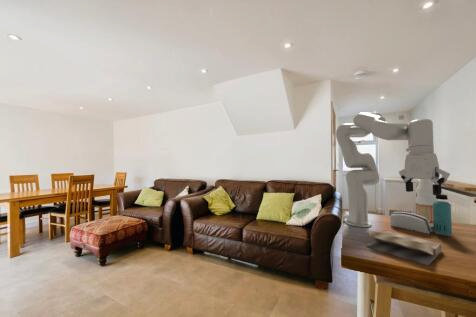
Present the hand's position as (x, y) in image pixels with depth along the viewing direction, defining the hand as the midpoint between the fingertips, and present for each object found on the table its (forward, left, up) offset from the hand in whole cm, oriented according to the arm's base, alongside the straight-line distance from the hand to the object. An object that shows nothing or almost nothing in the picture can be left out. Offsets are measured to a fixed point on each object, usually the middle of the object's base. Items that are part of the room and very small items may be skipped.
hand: (422, 193), depth 82 cm
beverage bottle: (0, +29, -24) cm, 38 cm away
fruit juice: (-9, +44, -24) cm, 51 cm away
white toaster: (-13, +29, -24) cm, 40 cm away
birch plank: (-6, -7, -21) cm, 23 cm away
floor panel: (-6, -3, -24) cm, 25 cm away
